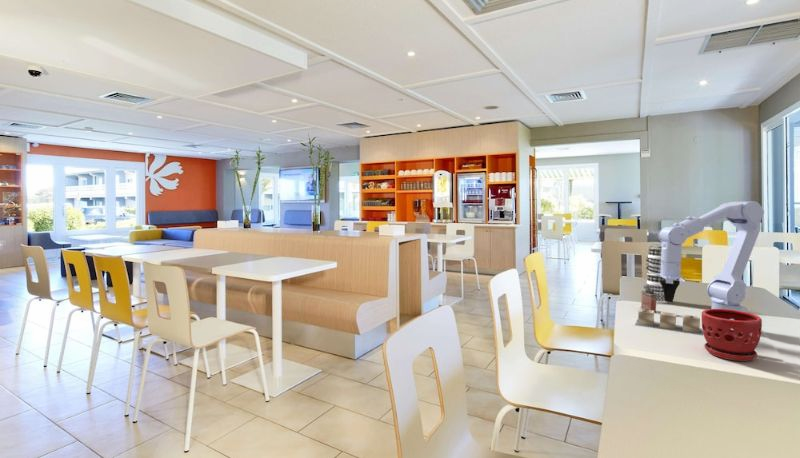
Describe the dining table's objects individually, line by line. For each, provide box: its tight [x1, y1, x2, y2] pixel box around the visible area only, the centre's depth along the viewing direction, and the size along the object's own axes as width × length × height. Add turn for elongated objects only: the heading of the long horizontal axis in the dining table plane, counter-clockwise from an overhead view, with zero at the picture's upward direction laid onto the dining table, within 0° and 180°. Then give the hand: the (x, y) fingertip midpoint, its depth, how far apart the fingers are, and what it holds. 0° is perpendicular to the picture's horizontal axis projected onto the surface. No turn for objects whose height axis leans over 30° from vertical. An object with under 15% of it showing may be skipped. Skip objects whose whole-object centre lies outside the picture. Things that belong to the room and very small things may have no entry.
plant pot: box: [701, 308, 763, 362], centre depth 115 cm, size 13×13×12 cm
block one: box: [682, 314, 701, 333], centre depth 138 cm, size 4×4×5 cm
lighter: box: [640, 284, 657, 314], centre depth 164 cm, size 8×3×10 cm, turn 178°
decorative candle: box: [645, 243, 668, 304], centre depth 183 cm, size 9×9×25 cm
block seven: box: [637, 308, 655, 326], centre depth 145 cm, size 4×4×5 cm
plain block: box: [659, 311, 677, 330], centre depth 141 cm, size 4×4×4 cm
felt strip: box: [634, 318, 703, 336], centre depth 142 cm, size 19×9×1 cm, turn 56°
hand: (668, 301), depth 141 cm, fingers closed
